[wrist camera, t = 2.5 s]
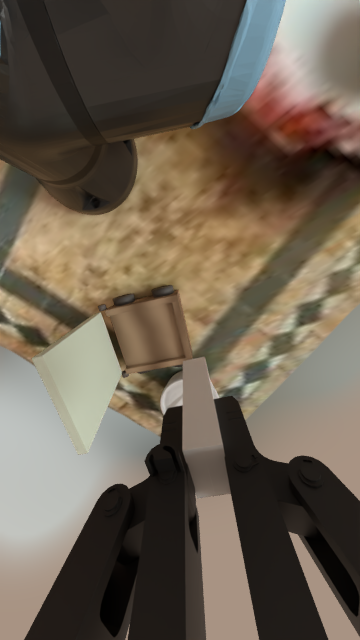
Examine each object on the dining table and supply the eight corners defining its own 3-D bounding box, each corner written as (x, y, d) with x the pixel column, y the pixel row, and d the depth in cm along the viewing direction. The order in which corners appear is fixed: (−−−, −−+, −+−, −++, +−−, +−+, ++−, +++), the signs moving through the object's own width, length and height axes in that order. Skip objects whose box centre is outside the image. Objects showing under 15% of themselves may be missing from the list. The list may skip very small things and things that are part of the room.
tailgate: (100, 312, 34) (42, 356, 18) (122, 372, 37) (87, 452, 21) (93, 314, 34) (28, 359, 18) (115, 374, 37) (75, 455, 22)
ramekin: (165, 361, 41) (162, 376, 36) (220, 367, 41) (225, 383, 36) (161, 407, 44) (157, 426, 39) (212, 412, 44) (215, 432, 39)
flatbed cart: (176, 283, 36) (175, 287, 31) (193, 355, 40) (194, 368, 35) (106, 299, 38) (94, 305, 33) (129, 366, 42) (121, 381, 37)
